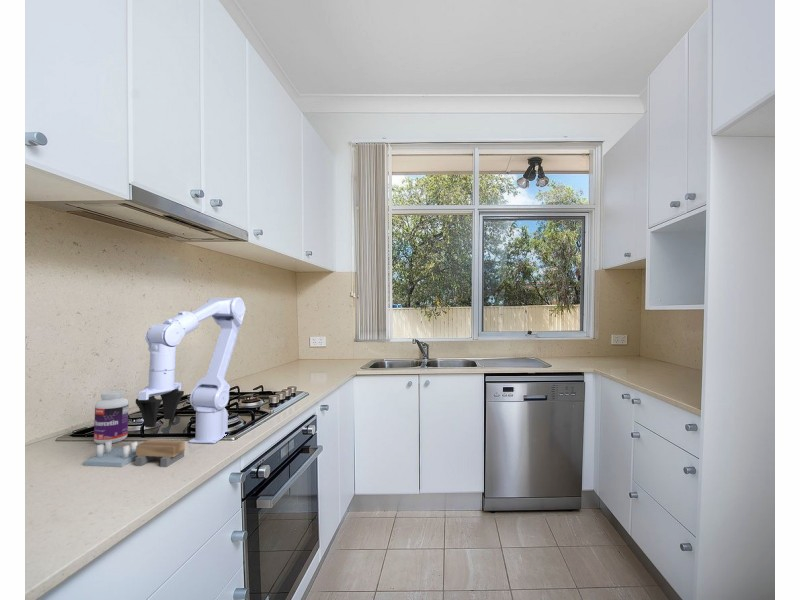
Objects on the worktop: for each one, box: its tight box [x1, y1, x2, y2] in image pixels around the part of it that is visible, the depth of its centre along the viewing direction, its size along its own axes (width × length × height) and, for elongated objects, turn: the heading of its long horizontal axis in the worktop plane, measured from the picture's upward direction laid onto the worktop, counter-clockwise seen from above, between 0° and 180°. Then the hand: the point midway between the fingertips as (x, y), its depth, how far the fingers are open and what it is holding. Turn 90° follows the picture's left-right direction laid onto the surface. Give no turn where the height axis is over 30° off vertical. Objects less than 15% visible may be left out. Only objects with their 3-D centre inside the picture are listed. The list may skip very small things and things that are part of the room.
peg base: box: [83, 441, 138, 468], centre depth 100 cm, size 9×10×4 cm
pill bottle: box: [93, 389, 129, 445], centre depth 114 cm, size 8×8×14 cm
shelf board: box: [136, 439, 186, 458], centre depth 100 cm, size 4×10×2 cm, turn 86°
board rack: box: [135, 451, 185, 468], centre depth 100 cm, size 7×8×2 cm
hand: (159, 422), depth 99 cm, fingers open, 7 cm apart
